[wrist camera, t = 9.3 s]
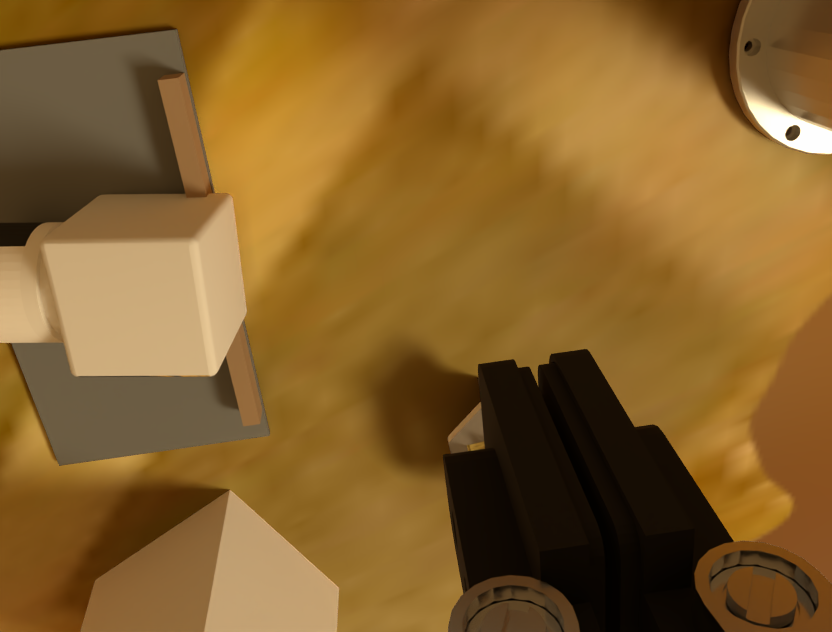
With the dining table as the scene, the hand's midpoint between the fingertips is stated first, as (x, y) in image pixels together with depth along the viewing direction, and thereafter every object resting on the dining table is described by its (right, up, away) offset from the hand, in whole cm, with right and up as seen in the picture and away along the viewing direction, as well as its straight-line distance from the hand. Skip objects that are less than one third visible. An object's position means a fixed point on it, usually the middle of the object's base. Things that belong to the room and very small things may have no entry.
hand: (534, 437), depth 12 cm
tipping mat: (-19, +4, +30) cm, 36 cm away
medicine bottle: (-11, +4, +26) cm, 29 cm away
